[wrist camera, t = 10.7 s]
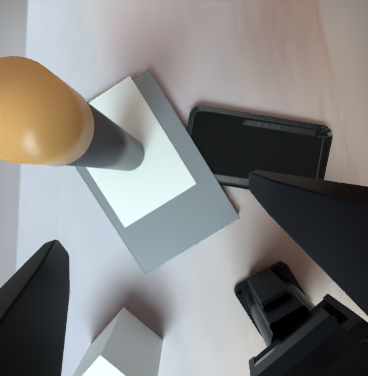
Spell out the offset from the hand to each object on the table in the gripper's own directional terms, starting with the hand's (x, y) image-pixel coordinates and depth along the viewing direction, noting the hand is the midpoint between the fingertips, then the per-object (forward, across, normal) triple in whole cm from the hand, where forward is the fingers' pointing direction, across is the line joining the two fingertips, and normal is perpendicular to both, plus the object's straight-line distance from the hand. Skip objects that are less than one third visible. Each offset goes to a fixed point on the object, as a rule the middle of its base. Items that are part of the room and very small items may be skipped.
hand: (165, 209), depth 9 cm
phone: (+10, -12, +4) cm, 16 cm away
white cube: (+5, +8, +20) cm, 23 cm away
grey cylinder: (+13, +1, +1) cm, 13 cm away
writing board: (+12, 0, +4) cm, 13 cm away
